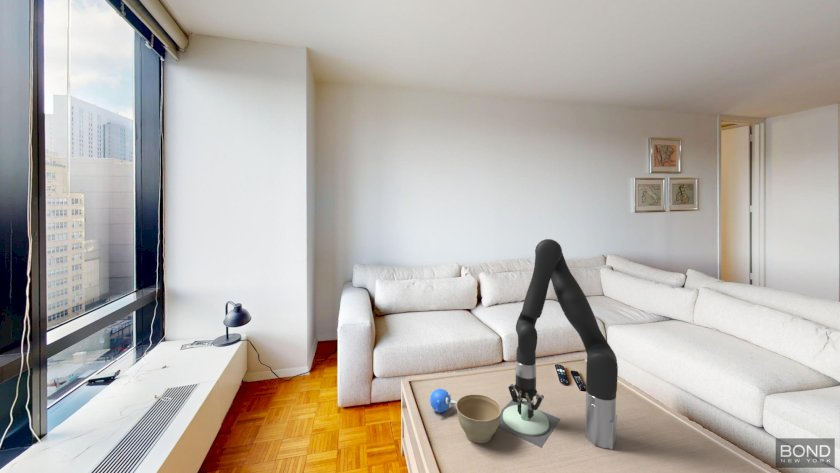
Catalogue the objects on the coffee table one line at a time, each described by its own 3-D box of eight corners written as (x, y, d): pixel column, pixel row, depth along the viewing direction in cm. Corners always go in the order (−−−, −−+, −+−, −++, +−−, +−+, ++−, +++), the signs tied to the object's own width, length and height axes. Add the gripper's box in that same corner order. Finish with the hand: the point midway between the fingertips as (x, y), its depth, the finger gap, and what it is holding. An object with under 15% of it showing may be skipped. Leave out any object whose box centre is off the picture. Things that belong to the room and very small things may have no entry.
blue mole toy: (455, 422, 122) (455, 402, 122) (426, 416, 126) (426, 396, 126) (461, 404, 134) (461, 385, 133) (434, 399, 138) (434, 381, 137)
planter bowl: (506, 451, 108) (506, 420, 107) (458, 451, 108) (458, 420, 107) (495, 420, 124) (495, 393, 123) (454, 420, 124) (454, 393, 123)
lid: (555, 418, 123) (555, 401, 123) (538, 443, 111) (539, 424, 110) (514, 402, 134) (514, 386, 134) (495, 422, 122) (495, 405, 121)
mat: (560, 419, 123) (560, 418, 123) (541, 448, 108) (541, 447, 108) (512, 400, 137) (512, 399, 137) (489, 423, 122) (489, 422, 122)
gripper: (547, 374, 119) (547, 418, 120) (512, 363, 129) (512, 404, 130) (540, 383, 114) (539, 428, 115) (504, 370, 123) (504, 412, 124)
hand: (525, 415), depth 122 cm, fingers closed on lid, 3 cm apart
